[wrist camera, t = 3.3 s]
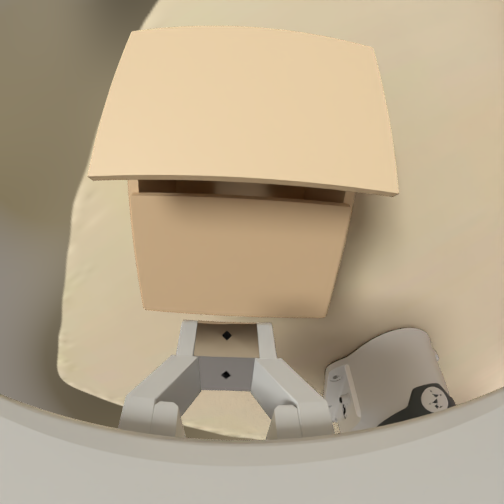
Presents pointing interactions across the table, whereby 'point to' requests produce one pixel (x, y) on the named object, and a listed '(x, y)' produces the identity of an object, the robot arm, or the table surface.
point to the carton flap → (247, 111)
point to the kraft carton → (237, 246)
